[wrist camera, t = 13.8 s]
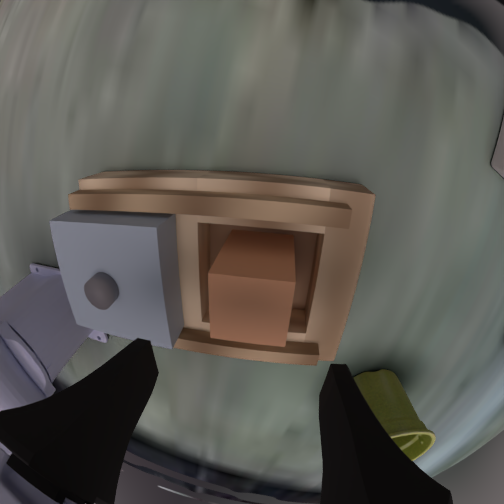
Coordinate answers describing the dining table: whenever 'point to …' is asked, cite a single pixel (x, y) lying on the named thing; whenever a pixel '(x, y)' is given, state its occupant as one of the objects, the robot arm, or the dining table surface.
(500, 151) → the medicine bottle
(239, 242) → the terracotta block
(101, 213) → the slate cover
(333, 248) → the puzzle board
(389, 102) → the dining table surface
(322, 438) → the robot arm
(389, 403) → the plant pot
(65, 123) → the dining table surface
